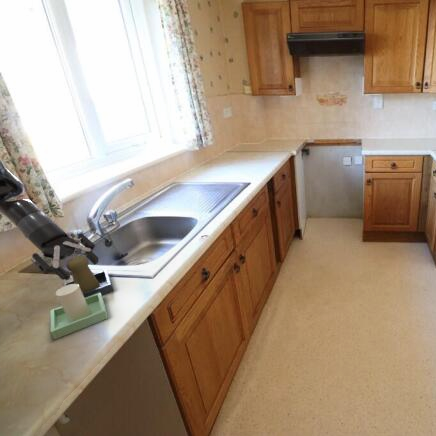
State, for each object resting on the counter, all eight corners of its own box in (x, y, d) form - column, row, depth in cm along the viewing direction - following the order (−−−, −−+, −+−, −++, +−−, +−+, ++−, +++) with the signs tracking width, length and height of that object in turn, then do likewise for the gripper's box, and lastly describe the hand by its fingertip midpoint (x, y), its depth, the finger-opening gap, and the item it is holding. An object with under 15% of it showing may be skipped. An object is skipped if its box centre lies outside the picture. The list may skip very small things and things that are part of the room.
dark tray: (67, 308, 91) (63, 301, 90) (65, 290, 99) (62, 283, 98) (113, 291, 98) (111, 284, 97) (109, 275, 105) (106, 269, 104)
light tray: (54, 339, 80) (50, 332, 79) (53, 317, 88) (50, 310, 87) (108, 318, 87) (105, 310, 86) (103, 299, 94) (100, 292, 93)
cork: (103, 282, 101) (91, 252, 97) (94, 294, 96) (81, 262, 91) (83, 284, 101) (69, 254, 96) (72, 296, 95) (57, 265, 90)
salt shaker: (69, 325, 84) (55, 298, 80) (68, 315, 88) (55, 288, 84) (92, 316, 87) (79, 289, 83) (90, 307, 90) (78, 281, 87)
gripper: (15, 234, 86) (60, 278, 87) (69, 213, 98) (109, 251, 99) (11, 249, 90) (55, 290, 91) (64, 227, 102) (102, 263, 103)
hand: (83, 270), depth 95 cm, fingers open, 8 cm apart
